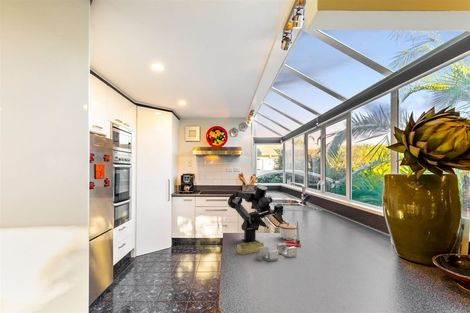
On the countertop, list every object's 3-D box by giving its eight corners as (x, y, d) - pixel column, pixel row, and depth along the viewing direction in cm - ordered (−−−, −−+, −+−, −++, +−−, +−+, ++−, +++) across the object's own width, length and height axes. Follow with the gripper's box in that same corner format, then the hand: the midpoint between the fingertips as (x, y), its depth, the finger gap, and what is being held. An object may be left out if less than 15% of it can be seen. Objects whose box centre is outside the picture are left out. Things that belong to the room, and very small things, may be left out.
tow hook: (284, 247, 127) (301, 247, 126) (283, 222, 128) (300, 222, 128) (281, 243, 135) (298, 243, 135) (281, 220, 136) (297, 220, 136)
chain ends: (252, 257, 107) (253, 248, 108) (288, 250, 120) (288, 242, 120) (264, 263, 101) (264, 253, 101) (300, 254, 114) (300, 246, 114)
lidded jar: (287, 235, 151) (288, 220, 152) (300, 239, 142) (300, 224, 143) (275, 237, 145) (275, 222, 146) (287, 241, 136) (288, 225, 137)
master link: (236, 252, 113) (237, 243, 114) (259, 248, 121) (259, 239, 122) (241, 255, 111) (241, 245, 111) (263, 250, 118) (263, 241, 119)
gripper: (243, 198, 121) (257, 215, 107) (275, 189, 126) (291, 205, 113) (244, 215, 125) (257, 234, 112) (275, 206, 131) (290, 223, 117)
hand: (274, 223), depth 113 cm, fingers open, 9 cm apart
